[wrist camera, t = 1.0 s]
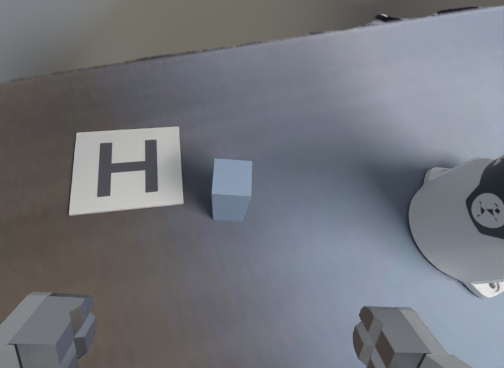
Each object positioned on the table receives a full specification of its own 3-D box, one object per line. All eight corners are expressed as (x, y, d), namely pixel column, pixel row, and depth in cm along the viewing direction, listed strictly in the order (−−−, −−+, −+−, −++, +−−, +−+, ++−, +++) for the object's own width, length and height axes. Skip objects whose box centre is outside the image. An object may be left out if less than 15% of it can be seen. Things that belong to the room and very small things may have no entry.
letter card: (179, 127, 42) (178, 126, 42) (183, 204, 38) (183, 203, 37) (77, 134, 40) (76, 132, 39) (70, 215, 35) (68, 214, 35)
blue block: (244, 193, 39) (252, 161, 30) (243, 221, 38) (251, 196, 28) (215, 191, 39) (214, 158, 30) (213, 219, 37) (211, 193, 28)
